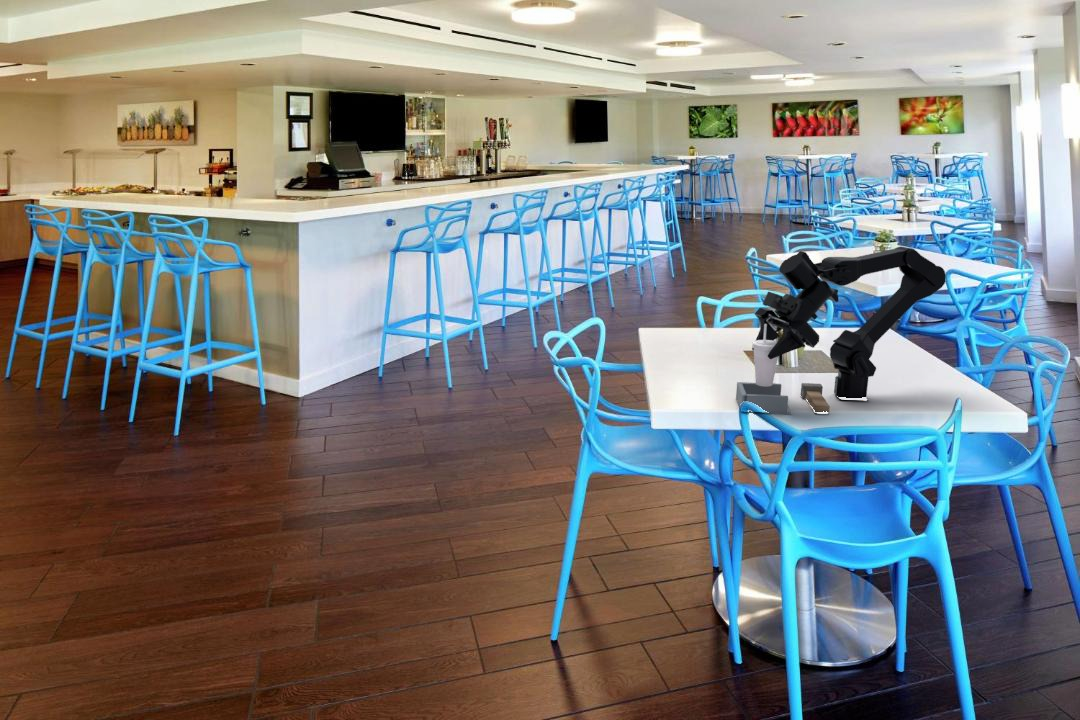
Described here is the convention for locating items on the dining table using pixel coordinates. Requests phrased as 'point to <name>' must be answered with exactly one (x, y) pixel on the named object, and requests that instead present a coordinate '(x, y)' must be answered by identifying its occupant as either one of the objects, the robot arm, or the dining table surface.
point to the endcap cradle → (763, 397)
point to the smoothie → (764, 361)
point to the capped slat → (814, 396)
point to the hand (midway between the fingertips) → (761, 354)
